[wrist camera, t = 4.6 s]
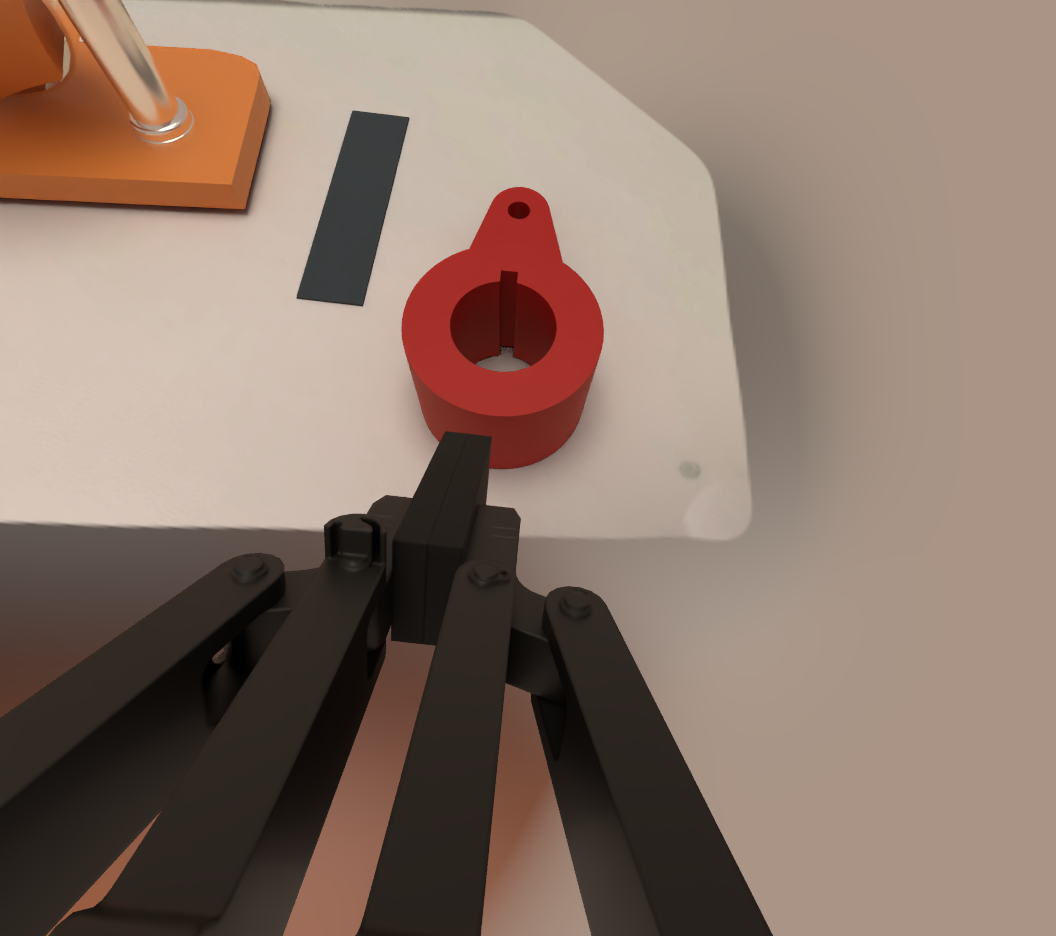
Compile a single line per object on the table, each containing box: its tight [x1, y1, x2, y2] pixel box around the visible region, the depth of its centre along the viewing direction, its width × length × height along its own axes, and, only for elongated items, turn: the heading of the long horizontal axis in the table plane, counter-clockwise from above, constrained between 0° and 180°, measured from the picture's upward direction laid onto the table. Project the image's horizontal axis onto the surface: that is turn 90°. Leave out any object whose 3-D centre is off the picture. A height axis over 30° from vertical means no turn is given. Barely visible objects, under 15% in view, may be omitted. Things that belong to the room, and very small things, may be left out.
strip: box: [297, 111, 409, 306], centre depth 37 cm, size 4×16×1 cm, turn 174°
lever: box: [402, 187, 604, 469], centre depth 31 cm, size 18×9×7 cm, turn 176°
